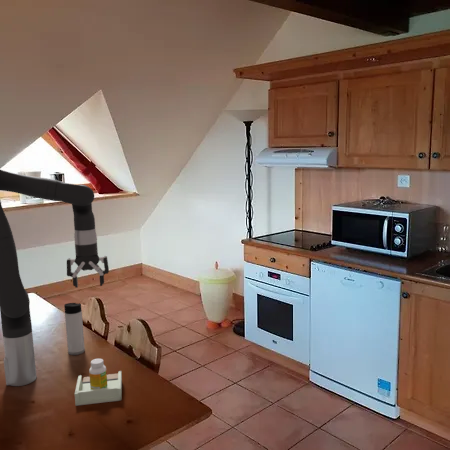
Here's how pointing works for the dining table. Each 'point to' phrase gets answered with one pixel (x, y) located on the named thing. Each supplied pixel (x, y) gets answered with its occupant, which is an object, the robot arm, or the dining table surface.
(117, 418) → the dining table surface
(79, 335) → the travel mug
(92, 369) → the supplement bottle
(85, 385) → the tray
